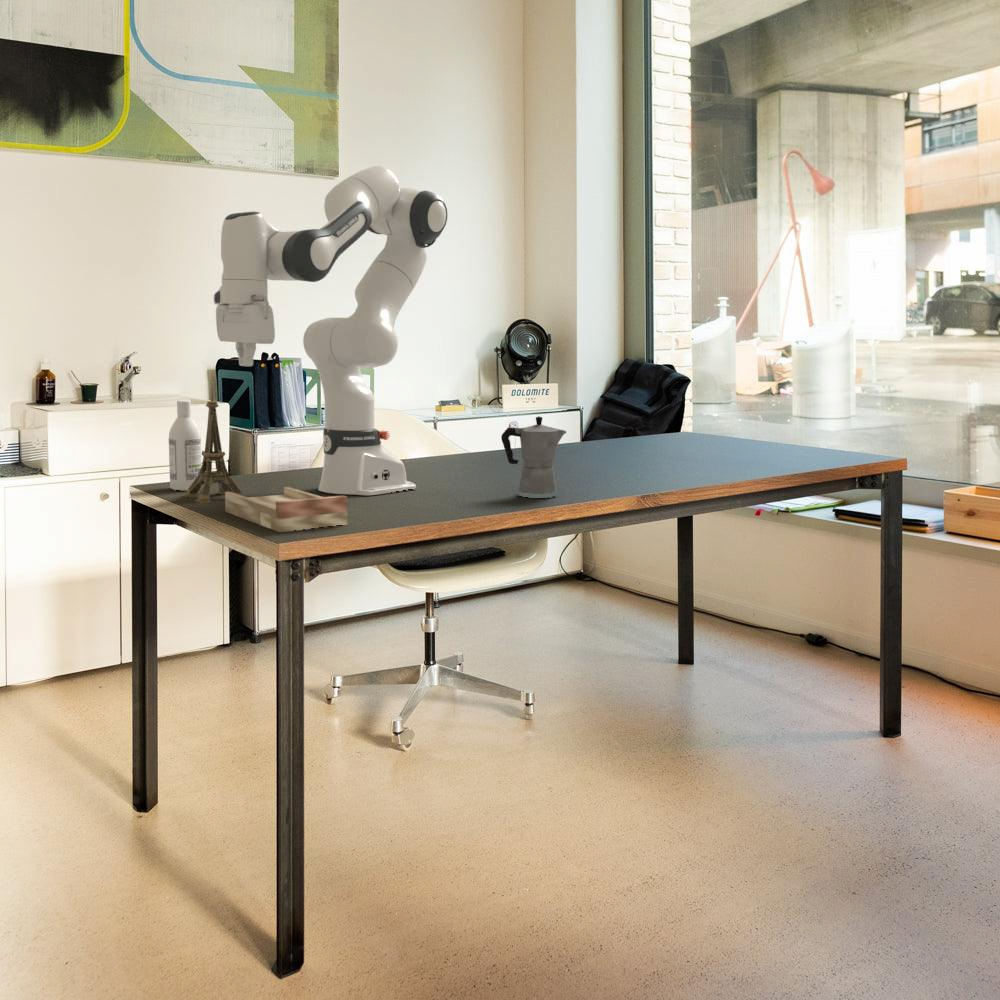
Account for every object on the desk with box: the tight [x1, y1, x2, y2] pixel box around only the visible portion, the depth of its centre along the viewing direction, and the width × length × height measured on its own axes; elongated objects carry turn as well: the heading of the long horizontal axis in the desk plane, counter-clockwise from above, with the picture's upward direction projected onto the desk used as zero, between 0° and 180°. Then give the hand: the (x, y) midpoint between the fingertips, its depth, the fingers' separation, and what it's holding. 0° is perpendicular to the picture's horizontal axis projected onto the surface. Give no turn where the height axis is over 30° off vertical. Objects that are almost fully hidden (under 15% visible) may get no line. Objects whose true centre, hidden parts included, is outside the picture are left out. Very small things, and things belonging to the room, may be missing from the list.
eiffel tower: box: [182, 381, 243, 504], centre depth 234 cm, size 11×11×25 cm
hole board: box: [224, 486, 348, 533], centre depth 213 cm, size 14×25×6 cm, turn 37°
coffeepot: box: [501, 416, 567, 494], centre depth 245 cm, size 15×9×18 cm, turn 109°
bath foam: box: [168, 399, 203, 492], centre depth 245 cm, size 7×7×20 cm
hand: (246, 366), depth 217 cm, fingers closed
